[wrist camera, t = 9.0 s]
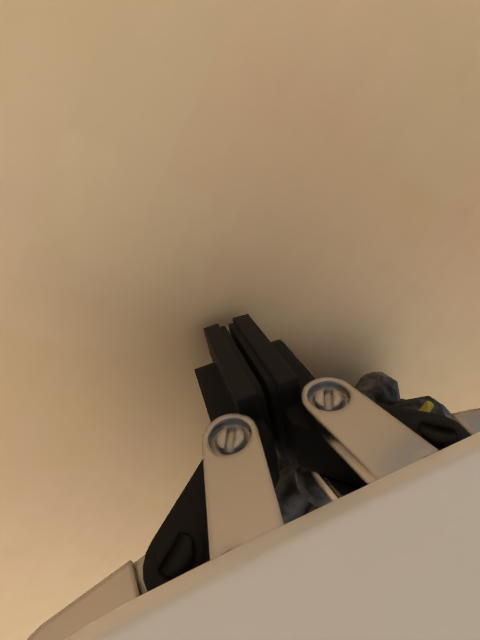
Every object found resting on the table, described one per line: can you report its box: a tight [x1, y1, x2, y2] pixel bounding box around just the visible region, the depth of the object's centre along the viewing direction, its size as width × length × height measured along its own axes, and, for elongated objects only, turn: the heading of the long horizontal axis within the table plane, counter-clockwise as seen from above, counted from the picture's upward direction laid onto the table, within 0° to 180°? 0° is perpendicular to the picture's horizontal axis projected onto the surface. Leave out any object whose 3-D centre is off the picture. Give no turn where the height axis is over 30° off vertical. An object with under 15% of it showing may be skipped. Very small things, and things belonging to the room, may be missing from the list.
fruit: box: [275, 372, 452, 525], centre depth 14 cm, size 9×8×15 cm
